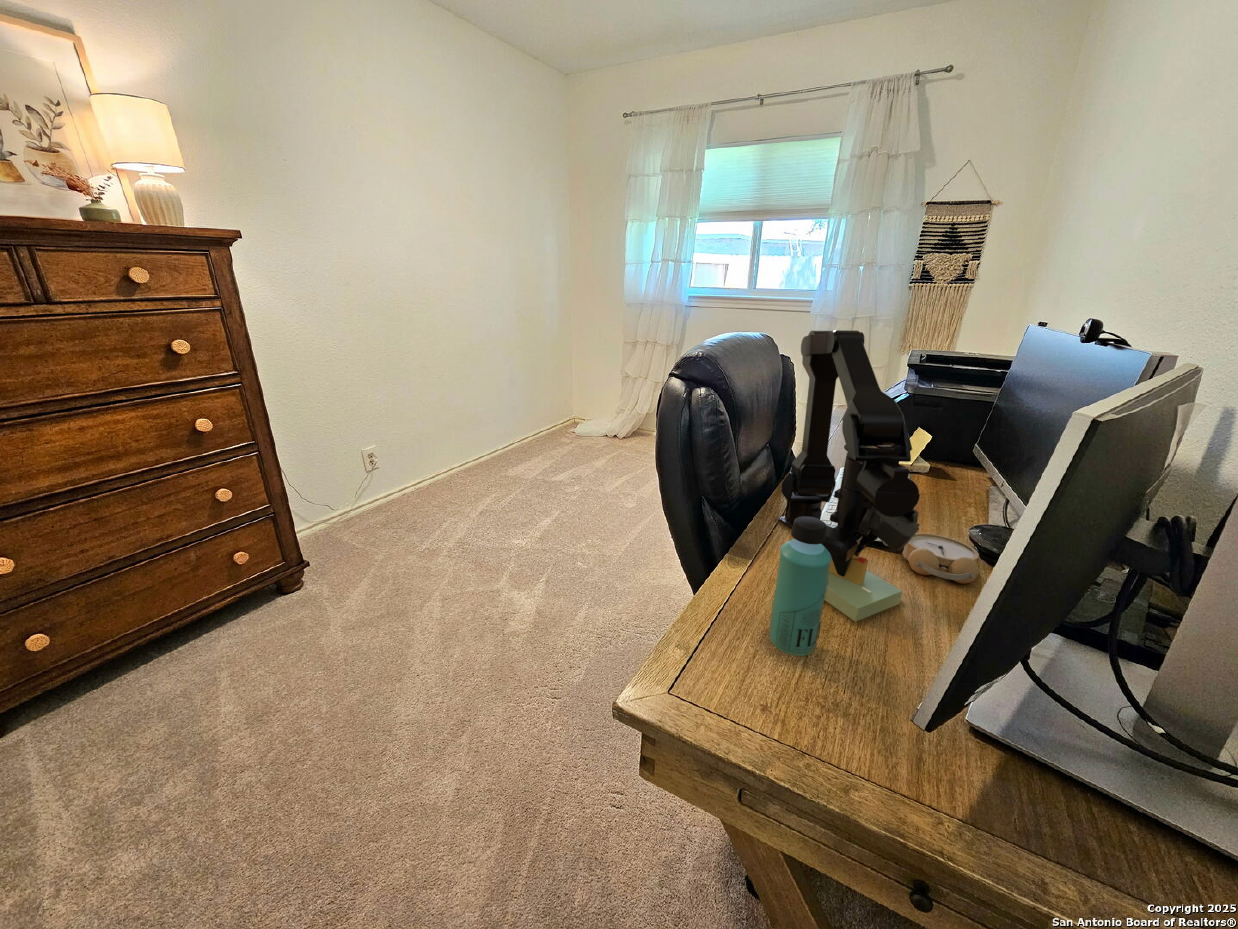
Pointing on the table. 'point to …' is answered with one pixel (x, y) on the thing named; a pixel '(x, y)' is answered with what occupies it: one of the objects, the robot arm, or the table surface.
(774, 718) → the table surface
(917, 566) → the alarm clock
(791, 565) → the beverage bottle
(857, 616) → the plate
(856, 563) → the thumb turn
